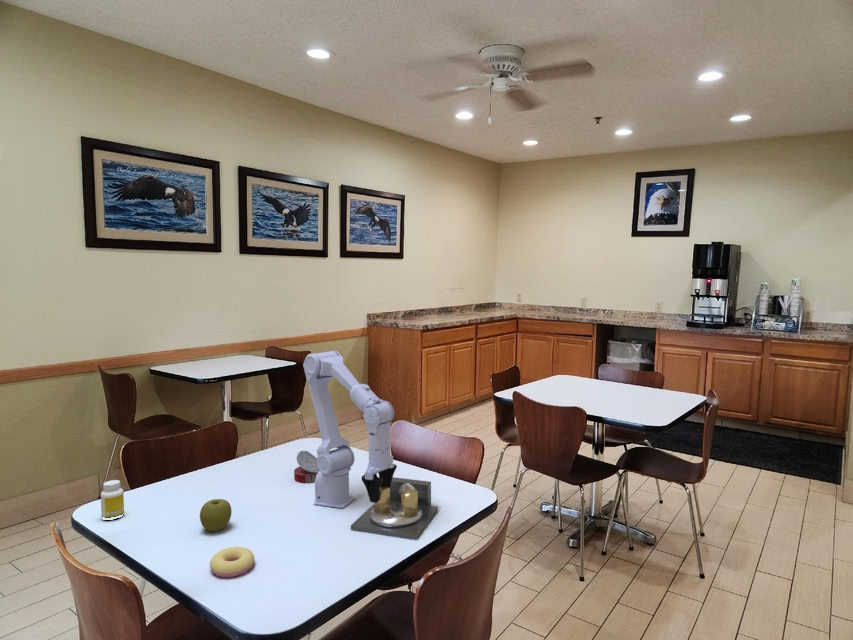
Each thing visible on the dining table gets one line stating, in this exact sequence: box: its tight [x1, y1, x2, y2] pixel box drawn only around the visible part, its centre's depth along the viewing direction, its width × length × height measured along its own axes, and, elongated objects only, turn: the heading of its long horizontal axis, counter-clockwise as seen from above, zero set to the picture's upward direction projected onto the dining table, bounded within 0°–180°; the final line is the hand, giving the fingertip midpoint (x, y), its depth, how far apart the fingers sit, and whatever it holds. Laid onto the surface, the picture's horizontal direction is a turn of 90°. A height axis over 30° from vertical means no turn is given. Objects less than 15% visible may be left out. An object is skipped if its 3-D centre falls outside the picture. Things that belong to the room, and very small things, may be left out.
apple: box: [199, 498, 233, 533], centre depth 142 cm, size 8×8×7 cm
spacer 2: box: [401, 489, 418, 518], centre depth 145 cm, size 4×4×6 cm
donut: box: [209, 546, 255, 578], centre depth 123 cm, size 10×5×9 cm
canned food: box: [293, 450, 320, 484], centre depth 179 cm, size 11×10×10 cm
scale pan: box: [370, 502, 422, 527], centre depth 146 cm, size 14×14×1 cm
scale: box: [350, 476, 439, 541], centre depth 148 cm, size 18×21×7 cm
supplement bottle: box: [100, 479, 125, 518], centre depth 149 cm, size 5×5×10 cm
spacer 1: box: [373, 486, 390, 514], centre depth 147 cm, size 4×4×6 cm
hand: (379, 496), depth 147 cm, fingers open, 7 cm apart
